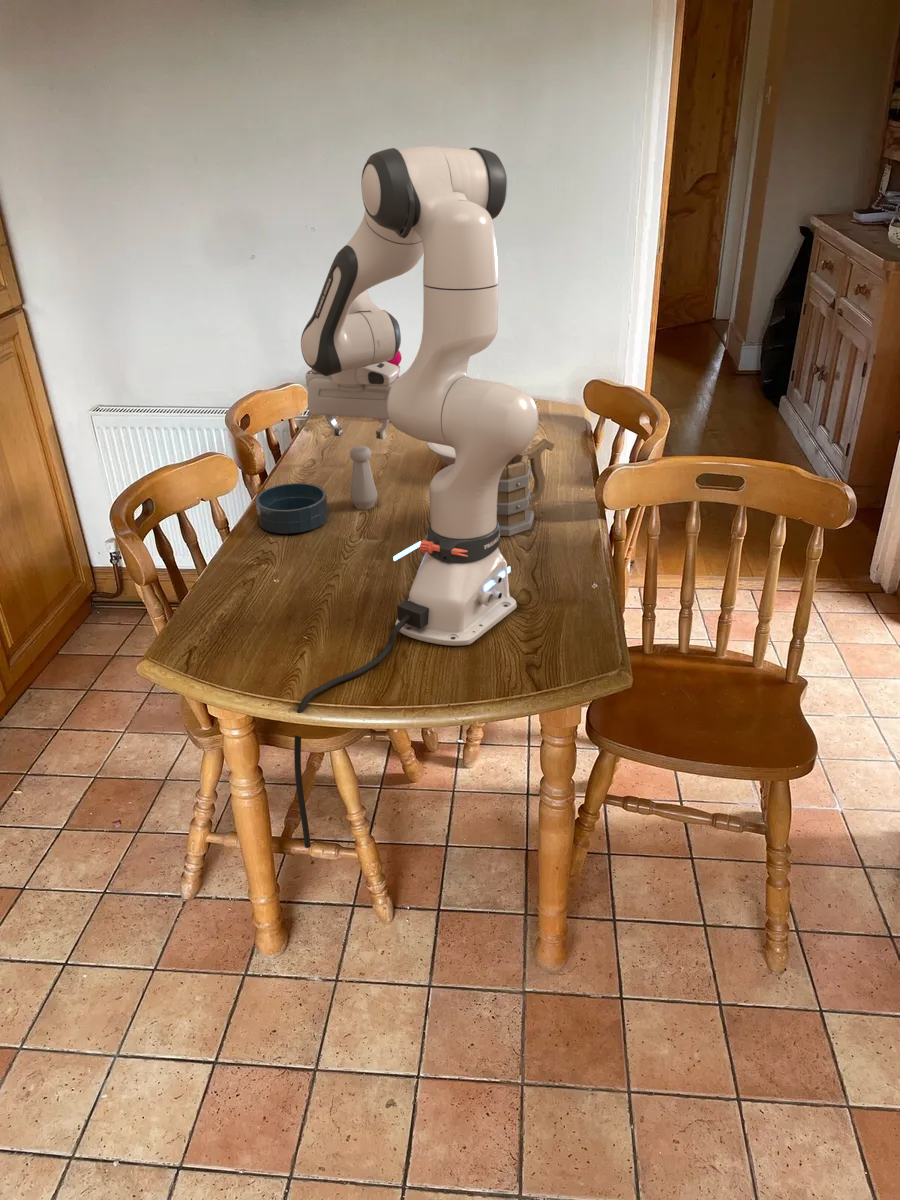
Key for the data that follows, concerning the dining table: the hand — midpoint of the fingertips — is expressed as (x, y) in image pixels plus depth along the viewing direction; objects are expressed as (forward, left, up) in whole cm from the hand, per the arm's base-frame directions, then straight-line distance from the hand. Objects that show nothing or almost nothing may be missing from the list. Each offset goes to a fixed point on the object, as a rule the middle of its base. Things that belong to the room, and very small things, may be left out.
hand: (359, 436), depth 189 cm
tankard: (+6, -32, -16) cm, 36 cm away
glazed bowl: (-12, +10, -15) cm, 22 cm away
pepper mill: (+53, +21, -5) cm, 57 cm away
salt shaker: (0, 0, -16) cm, 16 cm away
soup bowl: (+29, -14, -16) cm, 36 cm away
